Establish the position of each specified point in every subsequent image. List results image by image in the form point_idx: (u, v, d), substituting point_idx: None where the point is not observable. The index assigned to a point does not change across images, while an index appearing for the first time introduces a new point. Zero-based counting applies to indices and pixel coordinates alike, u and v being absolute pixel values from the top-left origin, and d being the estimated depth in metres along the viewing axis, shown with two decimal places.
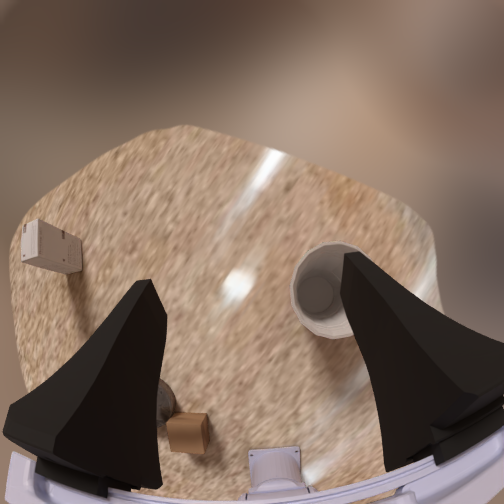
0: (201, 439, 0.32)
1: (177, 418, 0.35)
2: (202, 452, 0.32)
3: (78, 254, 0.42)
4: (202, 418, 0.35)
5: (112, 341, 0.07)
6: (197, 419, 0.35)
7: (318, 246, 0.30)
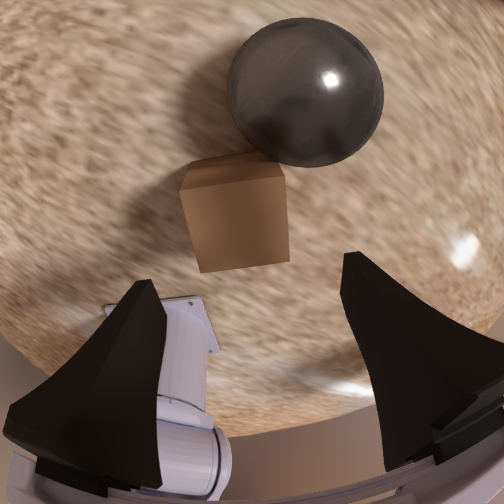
0: (245, 265, 0.16)
1: None
2: (204, 269, 0.16)
3: None
4: None
5: (112, 341, 0.07)
6: None
7: None
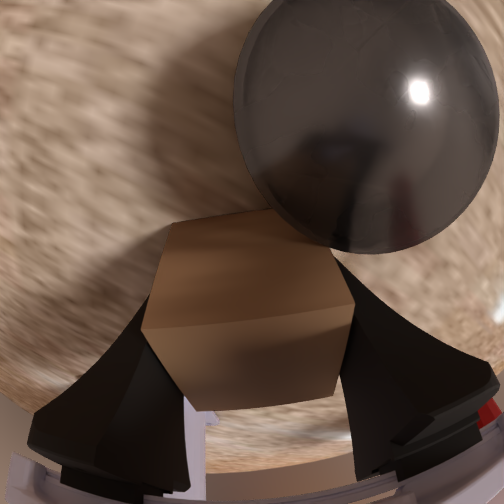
0: (265, 404, 0.09)
1: None
2: (201, 409, 0.09)
3: None
4: None
5: (144, 340, 0.07)
6: None
7: None
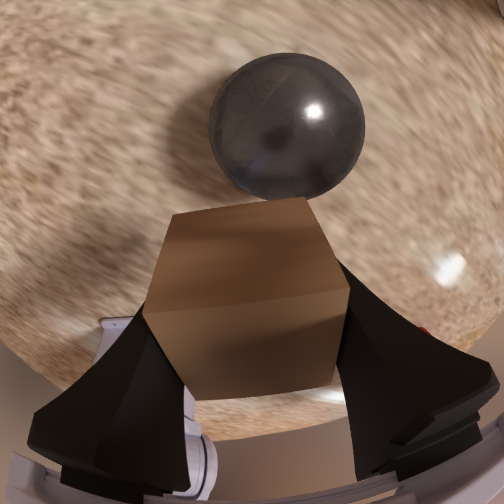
0: (264, 393, 0.09)
1: None
2: (200, 397, 0.09)
3: None
4: None
5: (144, 340, 0.07)
6: None
7: None
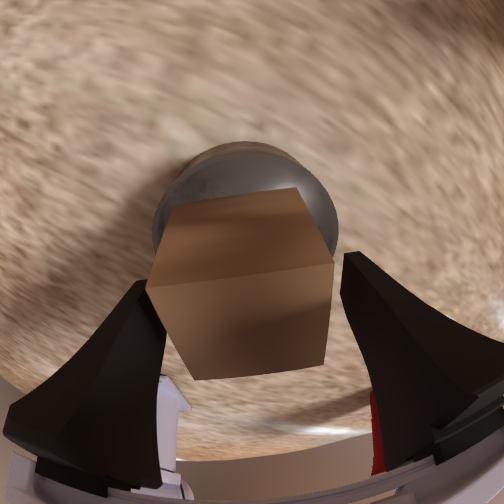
0: (259, 372, 0.10)
1: None
2: (199, 377, 0.10)
3: None
4: None
5: (112, 341, 0.07)
6: None
7: None
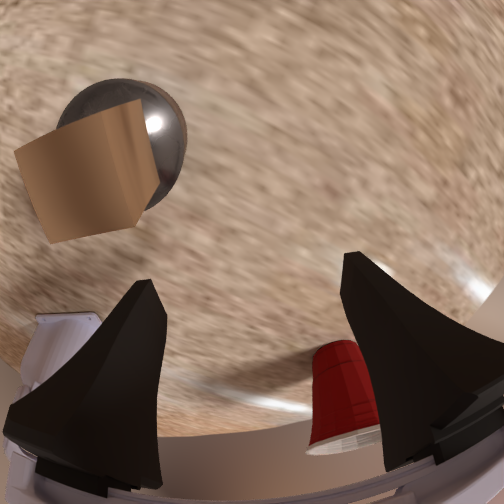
0: (88, 233, 0.11)
1: (126, 127, 0.11)
2: (51, 239, 0.11)
3: None
4: (148, 196, 0.13)
5: (112, 341, 0.07)
6: (142, 188, 0.12)
7: None
